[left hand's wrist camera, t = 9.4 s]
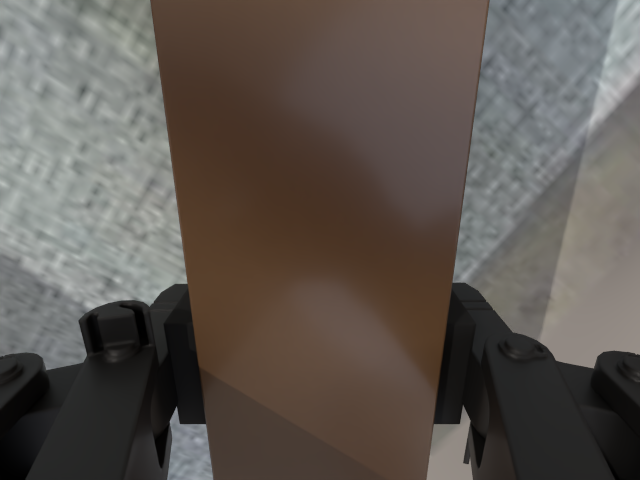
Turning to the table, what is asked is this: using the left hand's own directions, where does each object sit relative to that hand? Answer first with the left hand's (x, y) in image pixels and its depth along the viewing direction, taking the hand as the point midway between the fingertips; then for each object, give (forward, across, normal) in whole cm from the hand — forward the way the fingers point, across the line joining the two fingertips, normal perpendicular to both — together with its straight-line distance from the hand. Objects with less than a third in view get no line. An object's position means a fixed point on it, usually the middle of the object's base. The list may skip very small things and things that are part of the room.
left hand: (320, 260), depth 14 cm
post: (+1, 0, -34) cm, 34 cm away
